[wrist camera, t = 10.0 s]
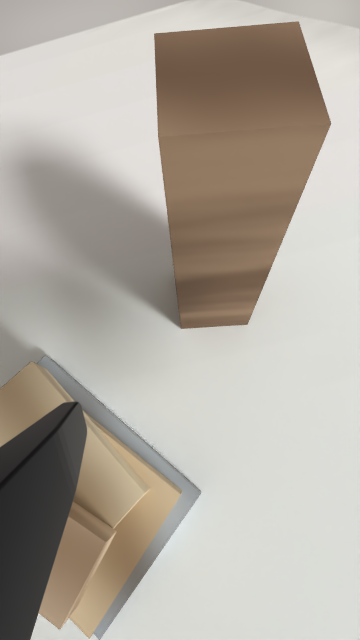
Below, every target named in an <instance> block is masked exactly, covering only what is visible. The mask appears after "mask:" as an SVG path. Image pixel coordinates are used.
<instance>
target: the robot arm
mask: <svg viewBox="0 0 360 640" xmlns="http://www.w3.org/2000/svg"><path fill="white" fill-rule="evenodd" d="M86 438H87V425H86V422H85V418H84V414H83V410H82V406H81V404H80V403H79V402H78V401H74V402H64V403H62V404H60V405H59V406H58V407H56V408H55V409H53V410H52V411H51V412H49V413H48V414H46V415H45V416H43V417H42V418H41V419H39V420H38V421H36V422H35V423H34V424H32V425H31V426H29V427H28V428H26V429H25V430H24V431H22V432H21V433H19V434H18V435H17V436H15V437H14V438H12V439H11V440H9V441H8V442H7V443H5V444H4V445H2V446H1V447H0V640H30V639H31V635H32V632H33V629H34V626H35V623H36V619H37V616H38V613H39V610H40V606H41V603H42V600H43V597H44V594H45V590H46V587H47V584H48V581H49V577H50V574H51V571H52V568H53V564H54V561H55V558H56V555H57V552H58V548H59V545H60V542H61V539H62V535H63V532H64V529H65V526H66V523H67V519H68V516H69V513H70V510H71V506H72V503H73V500H74V496H75V493H76V489H77V484H78V479H79V474H80V469H81V464H82V459H83V453H84V448H85V443H86Z"/></svg>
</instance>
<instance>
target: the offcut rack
mask: <svg viewBox="0 0 360 640" xmlns="http://www.w3.org/2000/svg"><path fill="white" fill-rule="evenodd" d="M74 401H78V402H79V403H80V404H81V406H82V410H83V414H84V418H85V422H86V425H87V438H86V443H85V448H84V453H83V459H82V464H81V469H80V474H79V479H78V484H77V489H76V493H75V496H74V500H73V503H72V506H71V510H70V513H69V516H68V519H67V523H66V526H65V529H64V532H63V535H62V539H61V542H60V545H59V548H58V552H57V555H56V558H55V561H54V564H53V568H52V571H51V574H50V577H49V581H48V584H47V587H46V590H45V594H44V597H43V600H42V603H41V606H40V610H39V614H41V615H42V616H43V617H44V618H46V619H47V620H48V621H49V622H51V623H52V624H53V625H55V626H56V627H57V628H58V629H61V627H62V626H63V625H64V623H65V622H66V621H67V619H68V618H70V619H71V620H72V621H73V622H74V624H75V625H76V626H77V627H78V628H79V629H80V630H81V631H82V632H83V633H84V634H85V635H86V636H87V637H88V638H89V639H90V637H91V636H92V634H93V633H94V634H95V636H96V637H97V638H98V639H99V640H100V639H101V637H102V636H103V634H104V633H105V631H106V630H107V629H108V627H109V626H110V624H111V623H112V621H113V620H114V618H115V617H116V616H117V614H118V613H119V611H120V610H121V608H122V607H123V605H124V604H125V602H126V601H127V600H128V598H129V597H130V595H131V594H132V592H133V591H134V589H135V588H136V587H137V585H138V584H139V582H140V581H141V579H142V578H143V576H144V575H145V574H146V572H147V571H148V569H149V568H150V566H151V565H152V563H153V562H154V561H155V559H156V558H157V556H158V555H159V553H160V552H161V550H162V549H163V548H164V546H165V545H166V543H167V542H168V540H169V539H170V537H171V536H172V534H173V533H174V532H175V530H176V529H177V527H178V526H179V524H180V523H181V521H182V520H183V519H184V517H185V516H186V514H187V513H188V511H189V510H190V508H191V507H192V506H193V504H194V503H195V501H196V500H197V498H198V497H199V495H200V494H201V491H200V490H199V489H198V488H197V487H196V486H195V485H194V484H192V483H191V482H190V481H189V480H188V479H187V478H186V477H184V476H183V475H182V474H181V473H180V472H179V471H178V470H177V469H175V468H174V467H173V466H172V465H171V464H170V463H169V462H168V461H166V460H165V459H164V458H163V457H162V456H161V455H160V454H158V453H157V452H156V451H155V450H154V449H153V448H152V447H151V446H149V445H148V444H147V443H146V442H145V441H144V440H143V439H141V438H140V437H139V436H138V435H137V434H136V433H135V432H134V431H132V430H131V429H130V428H129V427H128V426H127V425H126V424H124V423H123V422H122V421H121V420H120V419H119V418H118V417H117V416H115V415H114V414H113V413H112V412H111V411H110V410H109V409H107V408H106V407H105V406H104V405H103V404H102V403H101V402H100V401H98V400H97V399H96V398H95V397H94V396H93V395H92V394H90V393H89V392H88V391H87V390H86V389H85V388H84V387H83V386H81V385H80V384H79V383H78V382H77V381H76V380H75V379H73V378H72V377H71V376H70V375H69V374H68V373H67V372H66V371H64V370H63V369H62V368H61V367H60V366H59V365H58V364H56V363H55V362H54V361H53V360H52V359H50V358H49V357H47V356H44V357H43V358H42V359H41V360H40V361H39V362H38V363H37V364H36V363H34V362H33V361H31V362H30V363H29V364H28V365H27V366H26V367H24V368H23V369H22V370H21V371H20V372H19V373H18V374H16V375H15V376H14V377H13V378H12V379H11V380H10V381H8V382H7V383H6V384H5V385H4V386H3V387H1V388H0V447H1V446H2V445H4V444H5V443H7V442H8V441H9V440H11V439H12V438H14V437H15V436H17V435H18V434H19V433H21V432H22V431H24V430H25V429H26V428H28V427H29V426H31V425H32V424H34V423H35V422H36V421H38V420H39V419H41V418H42V417H43V416H45V415H46V414H48V413H49V412H51V411H52V410H53V409H55V408H56V407H58V406H59V405H60V404H62V403H64V402H74Z"/></svg>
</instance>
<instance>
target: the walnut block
mask: <svg viewBox="0 0 360 640" xmlns="http://www.w3.org/2000/svg"><path fill="white" fill-rule="evenodd" d="M154 39H155V65H156V90H157V116H158V139H159V147H160V155H161V164H162V172H163V181H164V189H165V198H166V206H167V214H168V223H169V231H170V240H171V248H172V257H173V265H174V273H175V282H176V290H177V299H178V307H179V316H180V324H181V329H185V328H200V327H215V326H231V325H246V324H248V322H249V320H250V317H251V315H252V312H253V310H254V308H255V305H256V303H257V300H258V298H259V296H260V293H261V291H262V288H263V286H264V284H265V281H266V279H267V276H268V274H269V272H270V269H271V267H272V264H273V262H274V260H275V257H276V255H277V252H278V250H279V248H280V245H281V243H282V240H283V238H284V236H285V233H286V231H287V228H288V226H289V224H290V221H291V219H292V216H293V214H294V212H295V209H296V207H297V204H298V202H299V200H300V197H301V195H302V192H303V190H304V188H305V185H306V183H307V180H308V178H309V176H310V173H311V171H312V168H313V166H314V164H315V161H316V159H317V156H318V154H319V152H320V149H321V147H322V144H323V142H324V140H325V137H326V135H327V132H328V130H329V128H330V125H331V121H330V118H329V115H328V112H327V109H326V106H325V103H324V99H323V96H322V93H321V90H320V87H319V84H318V81H317V78H316V74H315V71H314V68H313V65H312V62H311V59H310V56H309V52H308V49H307V46H306V43H305V40H304V37H303V34H302V30H301V27H300V24H299V22H287V23H275V24H263V25H251V26H240V27H228V28H216V29H204V30H192V31H180V32H168V33H156V34H154Z"/></svg>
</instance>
